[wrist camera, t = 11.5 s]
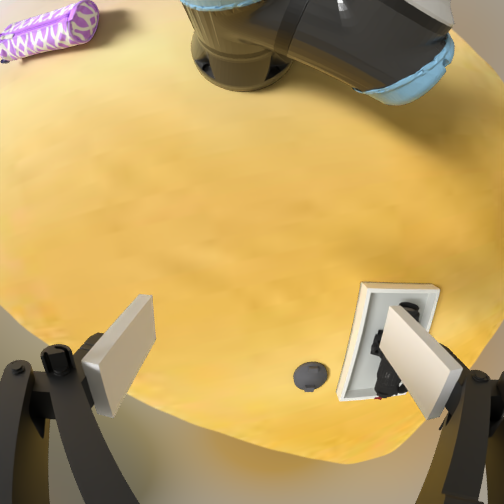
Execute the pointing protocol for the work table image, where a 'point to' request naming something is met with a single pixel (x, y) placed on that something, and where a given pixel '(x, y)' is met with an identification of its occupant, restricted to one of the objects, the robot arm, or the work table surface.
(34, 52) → the pencil case
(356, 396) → the tray
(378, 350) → the night vision scope
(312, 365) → the lens cap
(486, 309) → the work table surface
